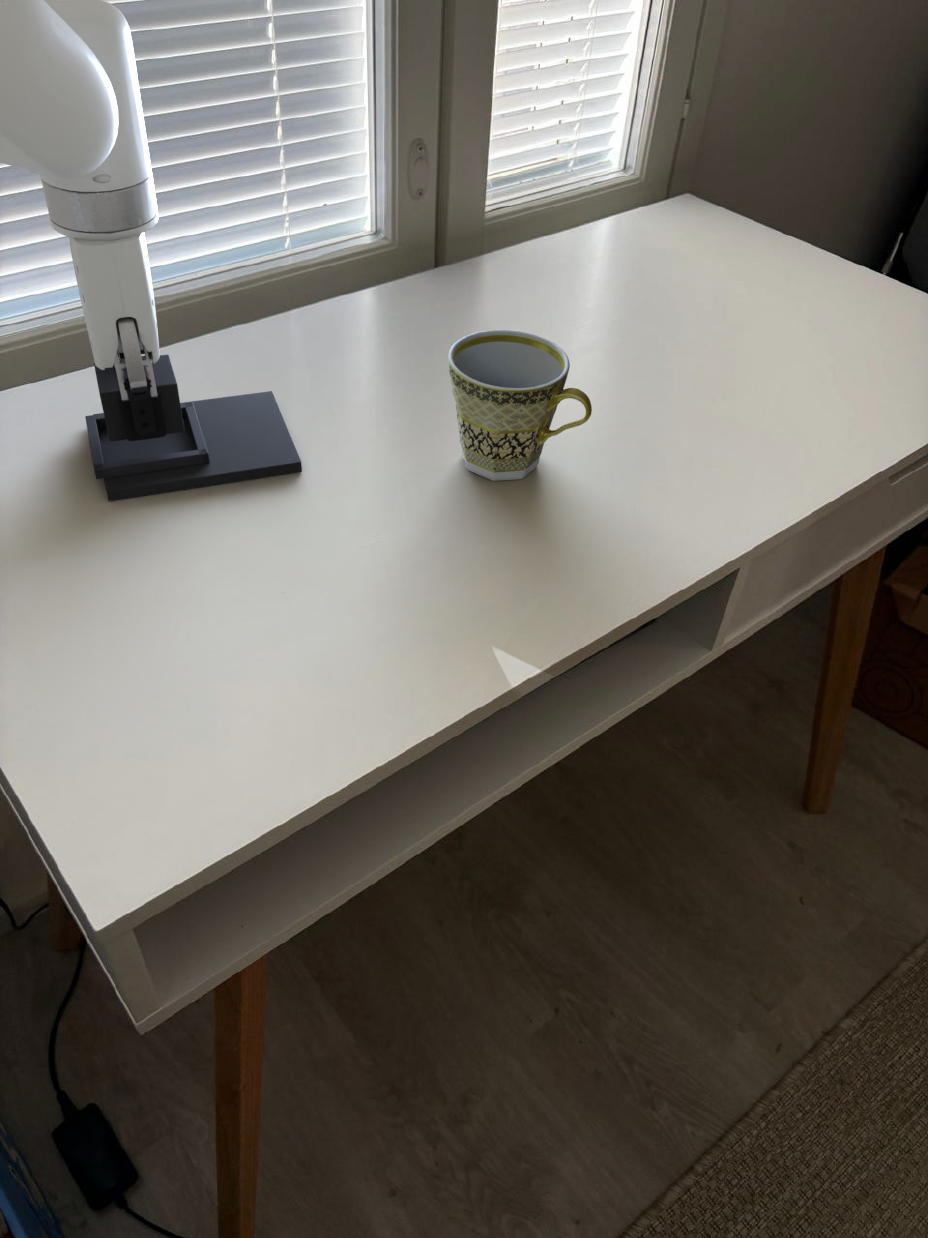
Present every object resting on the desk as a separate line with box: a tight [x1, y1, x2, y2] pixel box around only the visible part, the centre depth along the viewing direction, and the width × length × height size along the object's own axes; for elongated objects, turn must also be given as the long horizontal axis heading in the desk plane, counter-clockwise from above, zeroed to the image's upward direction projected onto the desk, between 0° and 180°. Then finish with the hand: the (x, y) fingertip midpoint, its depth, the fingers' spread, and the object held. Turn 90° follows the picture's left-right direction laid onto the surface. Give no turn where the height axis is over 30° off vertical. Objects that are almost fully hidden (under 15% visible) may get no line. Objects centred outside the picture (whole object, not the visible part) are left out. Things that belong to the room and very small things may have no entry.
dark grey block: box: [93, 354, 184, 442], centre depth 83 cm, size 6×5×4 cm
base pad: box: [84, 390, 303, 502], centre depth 88 cm, size 17×12×2 cm
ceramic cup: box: [447, 329, 593, 482], centre depth 86 cm, size 13×10×10 cm
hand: (142, 416), depth 85 cm, fingers closed on dark grey block, 5 cm apart
